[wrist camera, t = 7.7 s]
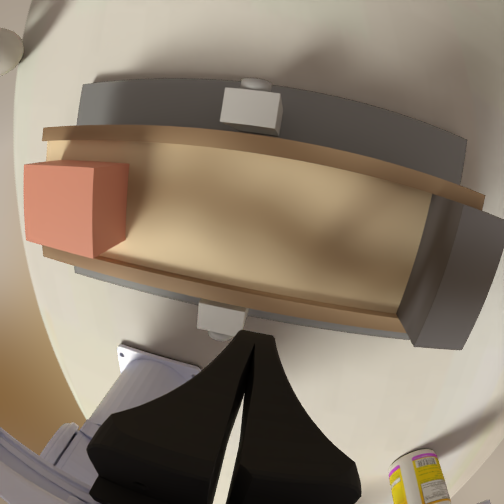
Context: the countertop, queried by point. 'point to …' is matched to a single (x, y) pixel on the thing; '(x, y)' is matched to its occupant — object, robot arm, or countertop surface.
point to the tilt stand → (273, 125)
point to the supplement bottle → (418, 479)
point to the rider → (76, 205)
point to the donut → (9, 50)
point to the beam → (293, 229)
